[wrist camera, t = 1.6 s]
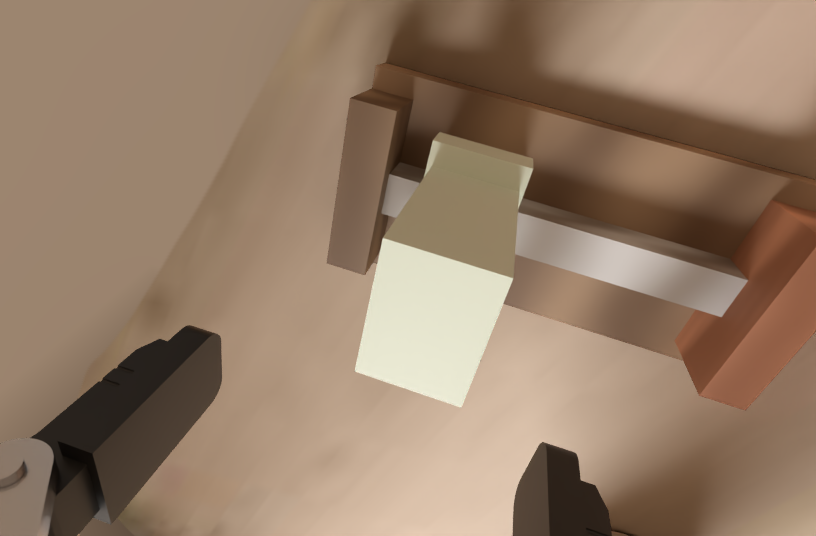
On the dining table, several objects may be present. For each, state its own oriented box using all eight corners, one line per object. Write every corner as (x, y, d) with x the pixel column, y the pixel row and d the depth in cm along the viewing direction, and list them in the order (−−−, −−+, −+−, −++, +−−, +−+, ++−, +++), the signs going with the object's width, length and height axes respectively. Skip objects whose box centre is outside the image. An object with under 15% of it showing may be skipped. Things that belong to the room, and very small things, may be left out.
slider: (533, 148, 20) (534, 247, 11) (485, 277, 24) (458, 430, 15) (446, 123, 20) (382, 201, 12) (412, 254, 24) (344, 390, 15)
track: (816, 180, 20) (905, 230, 15) (694, 349, 25) (731, 425, 20) (385, 62, 22) (344, 74, 17) (353, 242, 27) (316, 289, 22)
